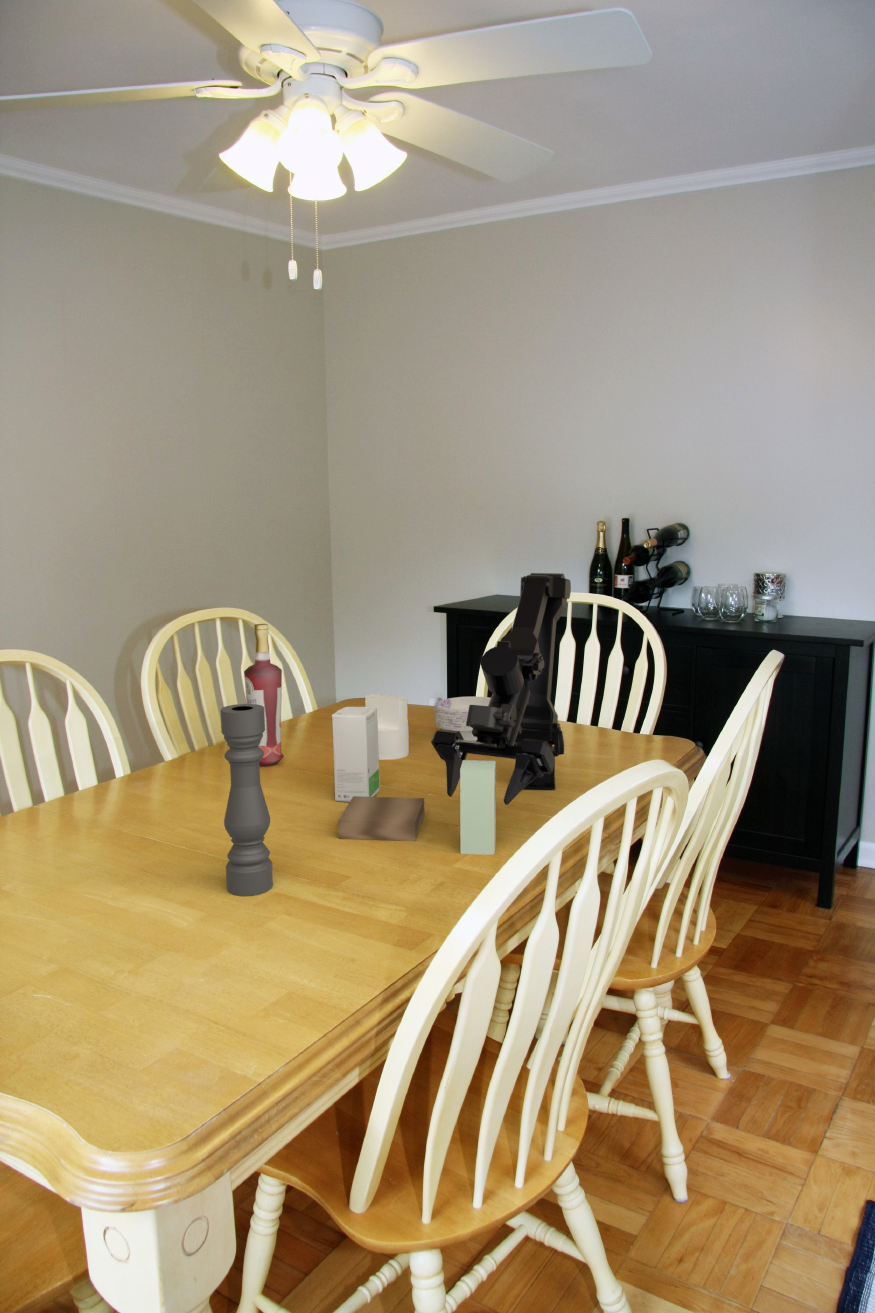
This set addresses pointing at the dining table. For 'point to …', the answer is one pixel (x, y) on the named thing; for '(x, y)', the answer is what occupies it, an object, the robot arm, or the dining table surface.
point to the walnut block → (382, 818)
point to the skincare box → (355, 752)
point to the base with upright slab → (391, 725)
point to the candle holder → (246, 802)
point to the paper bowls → (457, 714)
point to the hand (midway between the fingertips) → (476, 799)
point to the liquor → (266, 696)
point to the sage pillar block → (478, 807)
